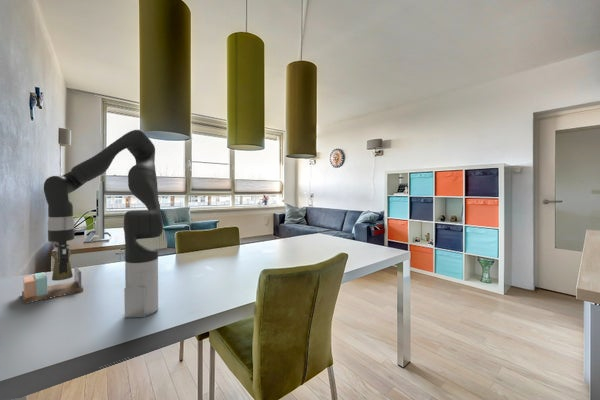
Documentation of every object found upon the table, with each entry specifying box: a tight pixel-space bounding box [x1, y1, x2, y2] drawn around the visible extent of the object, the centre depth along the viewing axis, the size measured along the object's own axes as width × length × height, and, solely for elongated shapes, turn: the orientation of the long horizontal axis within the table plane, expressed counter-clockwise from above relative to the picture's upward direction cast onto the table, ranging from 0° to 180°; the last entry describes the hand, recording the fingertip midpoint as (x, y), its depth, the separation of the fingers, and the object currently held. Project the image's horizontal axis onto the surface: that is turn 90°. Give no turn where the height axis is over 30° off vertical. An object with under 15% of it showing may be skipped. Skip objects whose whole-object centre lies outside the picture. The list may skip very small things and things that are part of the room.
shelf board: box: [21, 280, 84, 304], centre depth 100 cm, size 16×11×2 cm
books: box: [22, 271, 48, 298], centre depth 96 cm, size 6×9×6 cm, turn 49°
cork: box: [51, 249, 74, 281], centre depth 102 cm, size 6×6×11 cm
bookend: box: [73, 266, 82, 287], centre depth 105 cm, size 1×9×6 cm, turn 48°
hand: (62, 272), depth 102 cm, fingers closed on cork, 4 cm apart
